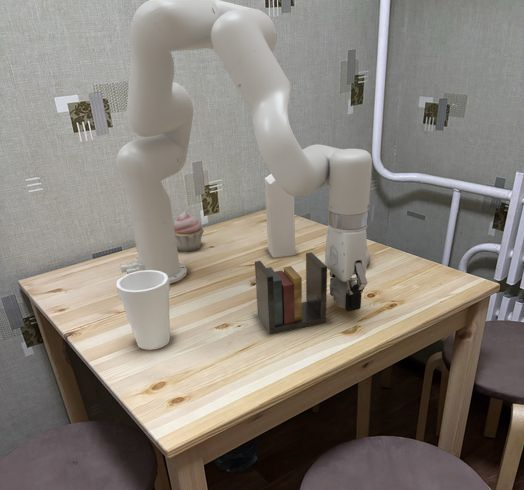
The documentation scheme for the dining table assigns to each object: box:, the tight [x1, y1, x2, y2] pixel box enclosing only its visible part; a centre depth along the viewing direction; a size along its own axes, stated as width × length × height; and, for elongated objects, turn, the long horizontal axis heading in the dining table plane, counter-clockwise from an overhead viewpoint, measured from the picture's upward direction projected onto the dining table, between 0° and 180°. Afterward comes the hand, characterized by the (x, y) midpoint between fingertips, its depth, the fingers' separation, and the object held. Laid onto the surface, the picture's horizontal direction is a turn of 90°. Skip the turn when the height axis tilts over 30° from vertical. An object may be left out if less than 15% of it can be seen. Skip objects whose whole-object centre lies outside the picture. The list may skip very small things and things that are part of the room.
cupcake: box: [173, 211, 205, 252], centre depth 142 cm, size 9×9×10 cm
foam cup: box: [115, 270, 171, 351], centre depth 99 cm, size 10×9×13 cm
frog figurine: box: [329, 277, 357, 310], centre depth 108 cm, size 6×7×7 cm
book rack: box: [254, 251, 328, 335], centre depth 104 cm, size 12×8×12 cm, turn 107°
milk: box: [264, 173, 296, 259], centre depth 133 cm, size 6×6×22 cm
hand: (344, 301), depth 110 cm, fingers closed on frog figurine, 6 cm apart
